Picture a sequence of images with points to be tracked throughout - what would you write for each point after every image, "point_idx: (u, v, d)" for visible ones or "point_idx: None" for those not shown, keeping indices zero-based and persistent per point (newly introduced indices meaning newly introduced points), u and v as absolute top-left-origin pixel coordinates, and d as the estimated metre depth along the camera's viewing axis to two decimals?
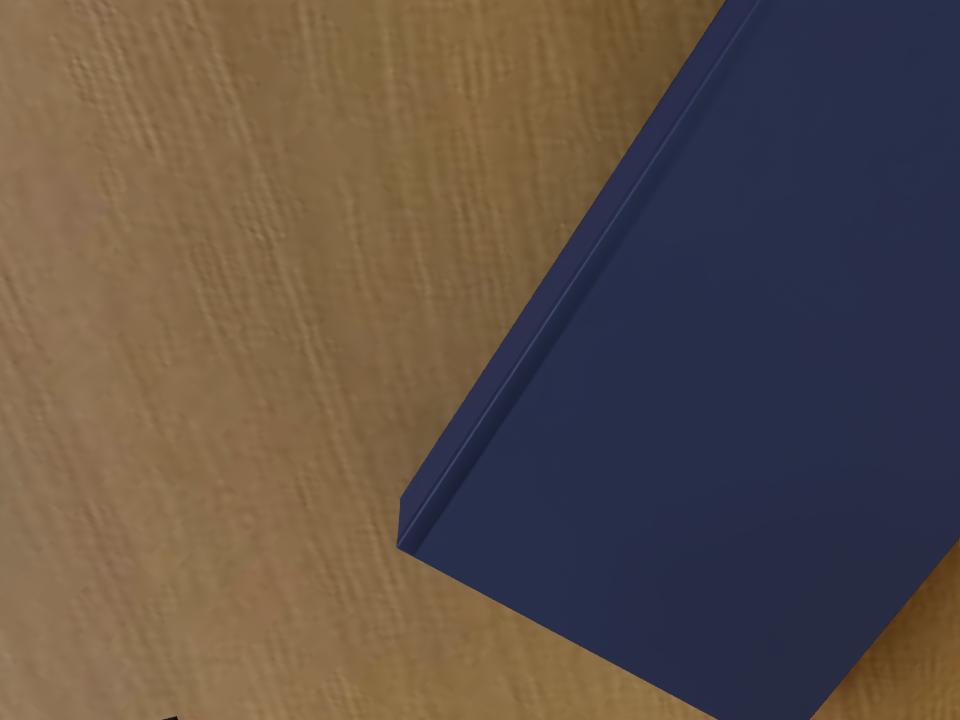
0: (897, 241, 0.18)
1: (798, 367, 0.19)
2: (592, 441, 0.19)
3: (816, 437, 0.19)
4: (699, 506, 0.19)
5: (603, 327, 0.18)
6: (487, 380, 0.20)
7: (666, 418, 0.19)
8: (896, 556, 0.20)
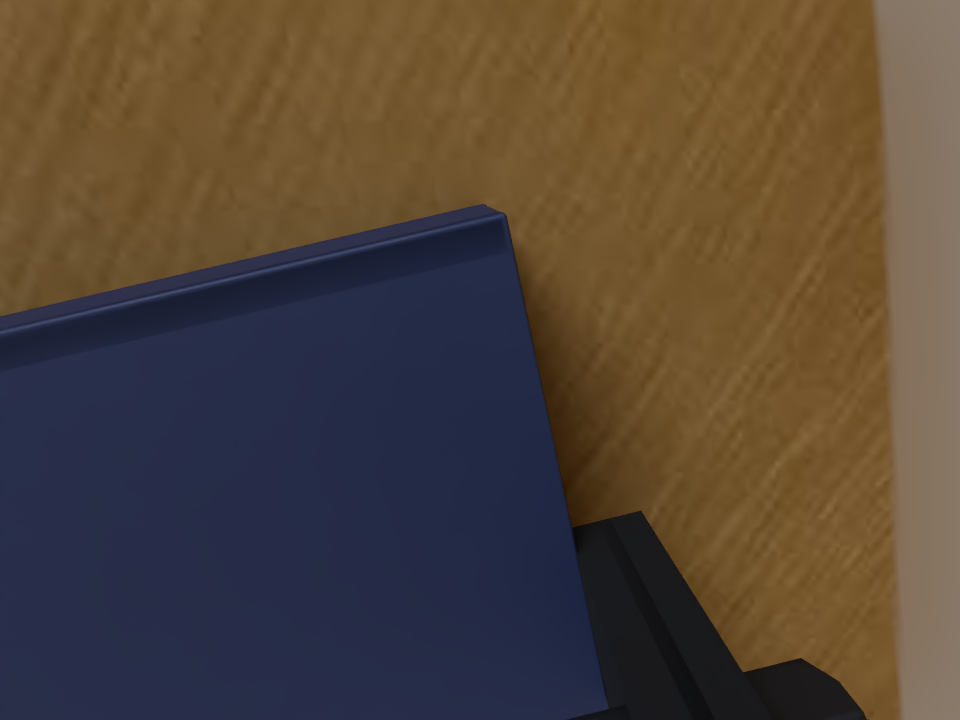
0: None
1: None
2: None
3: None
4: None
5: None
6: None
7: None
8: None
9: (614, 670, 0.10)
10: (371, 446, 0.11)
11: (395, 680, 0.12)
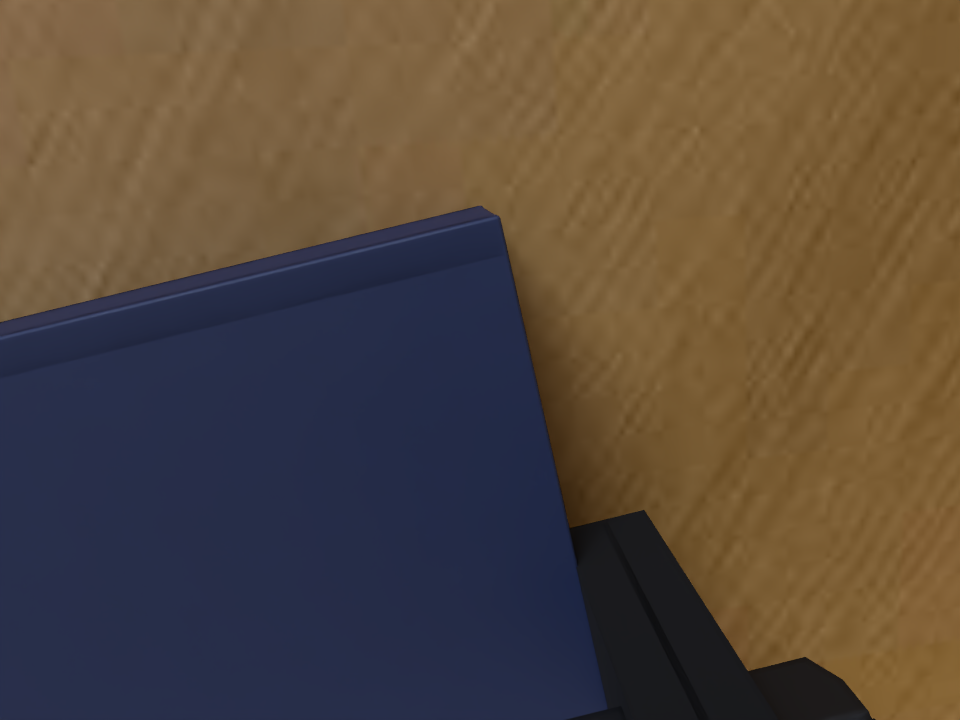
0: None
1: None
2: None
3: None
4: None
5: None
6: None
7: None
8: None
9: (610, 671, 0.10)
10: (364, 455, 0.10)
11: (392, 694, 0.11)
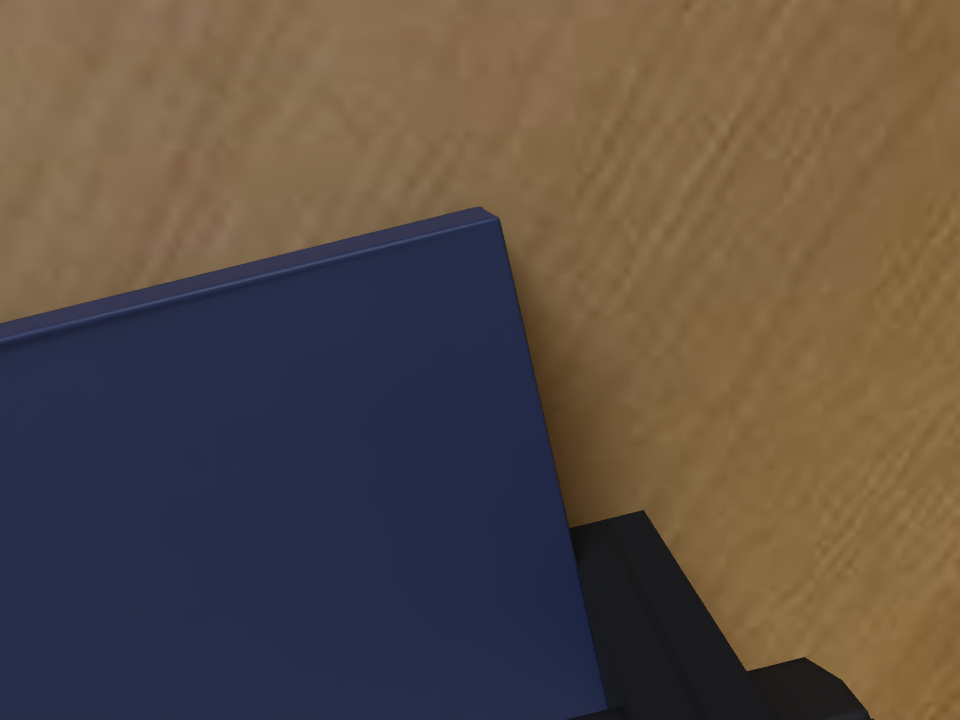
0: None
1: None
2: None
3: None
4: None
5: None
6: None
7: None
8: None
9: (611, 671, 0.10)
10: (364, 457, 0.10)
11: (392, 695, 0.11)
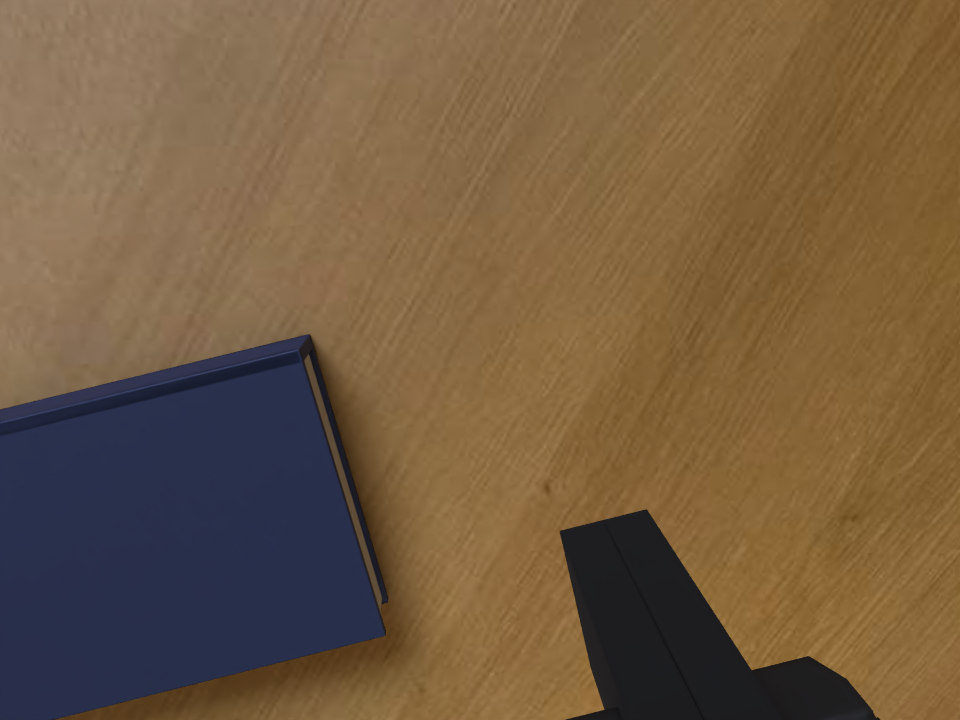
0: (81, 559, 0.30)
1: None
2: None
3: None
4: None
5: None
6: None
7: None
8: None
9: (606, 672, 0.10)
10: (254, 431, 0.29)
11: (268, 522, 0.30)
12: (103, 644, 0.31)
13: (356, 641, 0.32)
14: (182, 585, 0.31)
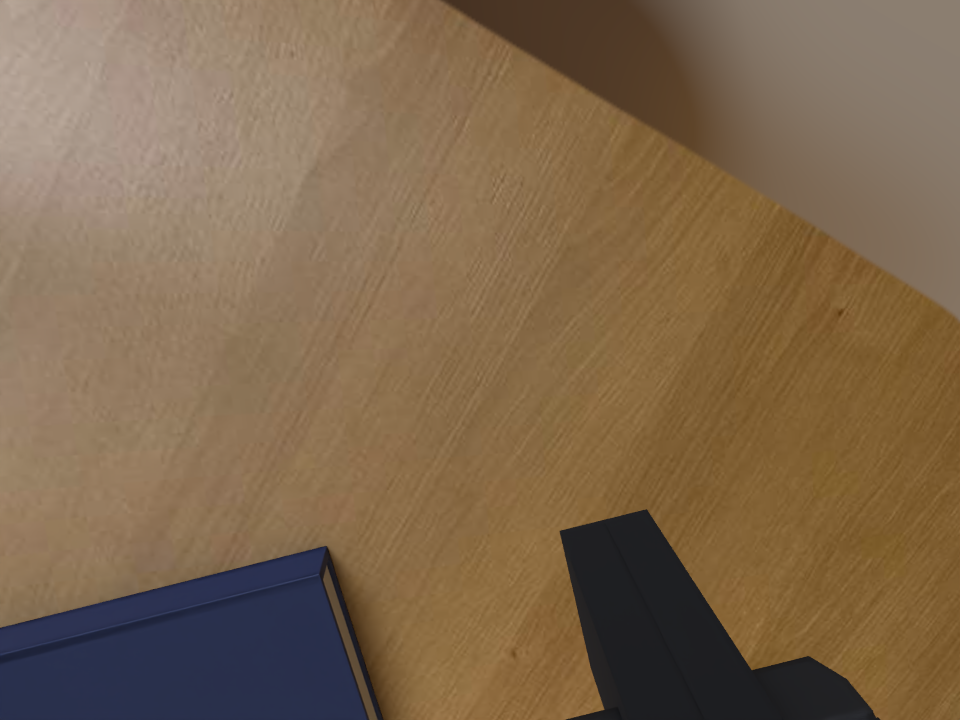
0: None
1: None
2: None
3: None
4: None
5: (14, 674, 0.38)
6: None
7: None
8: None
9: (606, 672, 0.10)
10: (285, 633, 0.38)
11: (296, 697, 0.39)
12: None
13: None
14: None
